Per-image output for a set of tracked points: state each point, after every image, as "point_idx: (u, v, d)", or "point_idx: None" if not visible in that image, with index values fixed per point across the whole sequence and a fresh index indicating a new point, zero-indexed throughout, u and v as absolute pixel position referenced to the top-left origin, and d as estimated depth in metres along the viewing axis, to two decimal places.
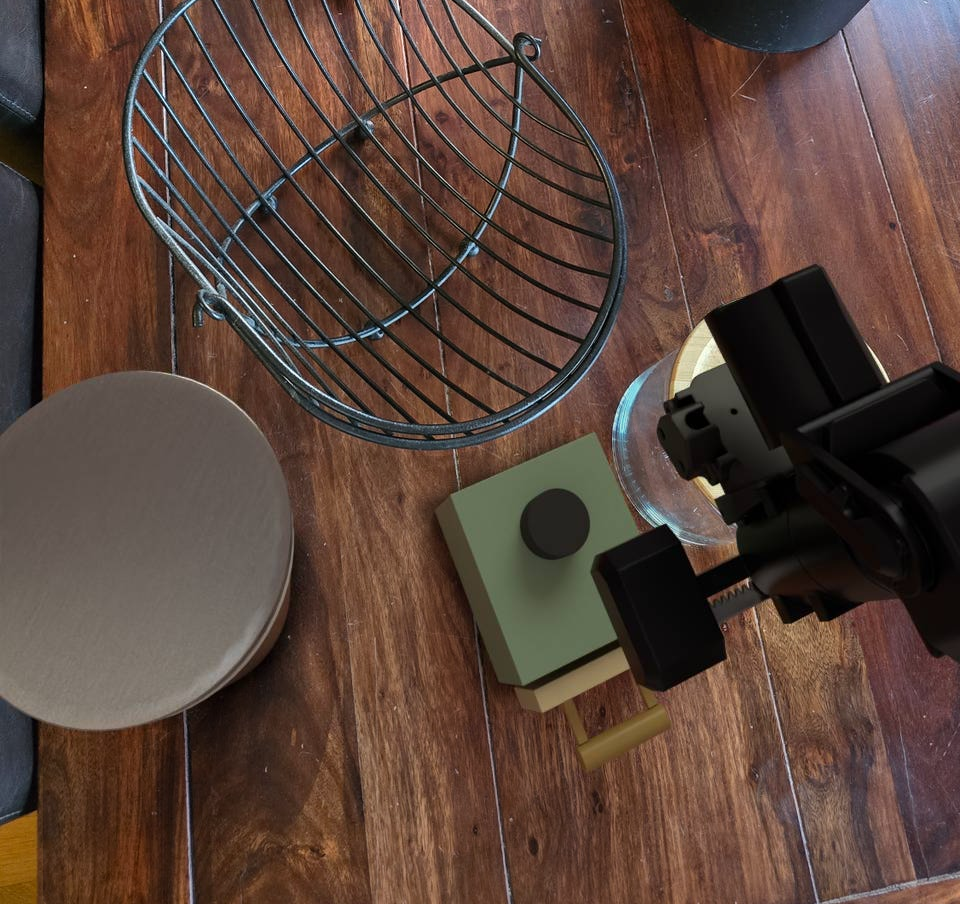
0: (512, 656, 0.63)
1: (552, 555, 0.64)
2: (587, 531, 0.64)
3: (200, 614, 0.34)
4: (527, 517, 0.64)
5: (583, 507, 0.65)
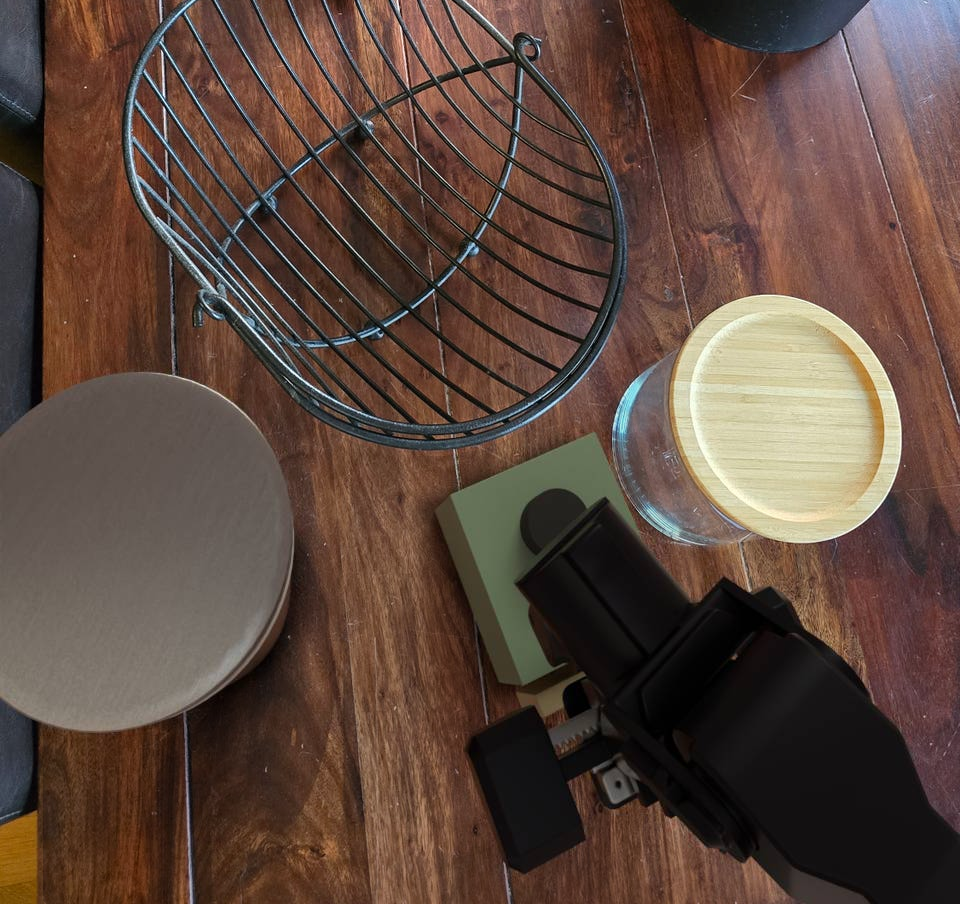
0: (512, 656, 0.63)
1: None
2: None
3: (200, 615, 0.34)
4: (527, 517, 0.64)
5: (583, 507, 0.65)
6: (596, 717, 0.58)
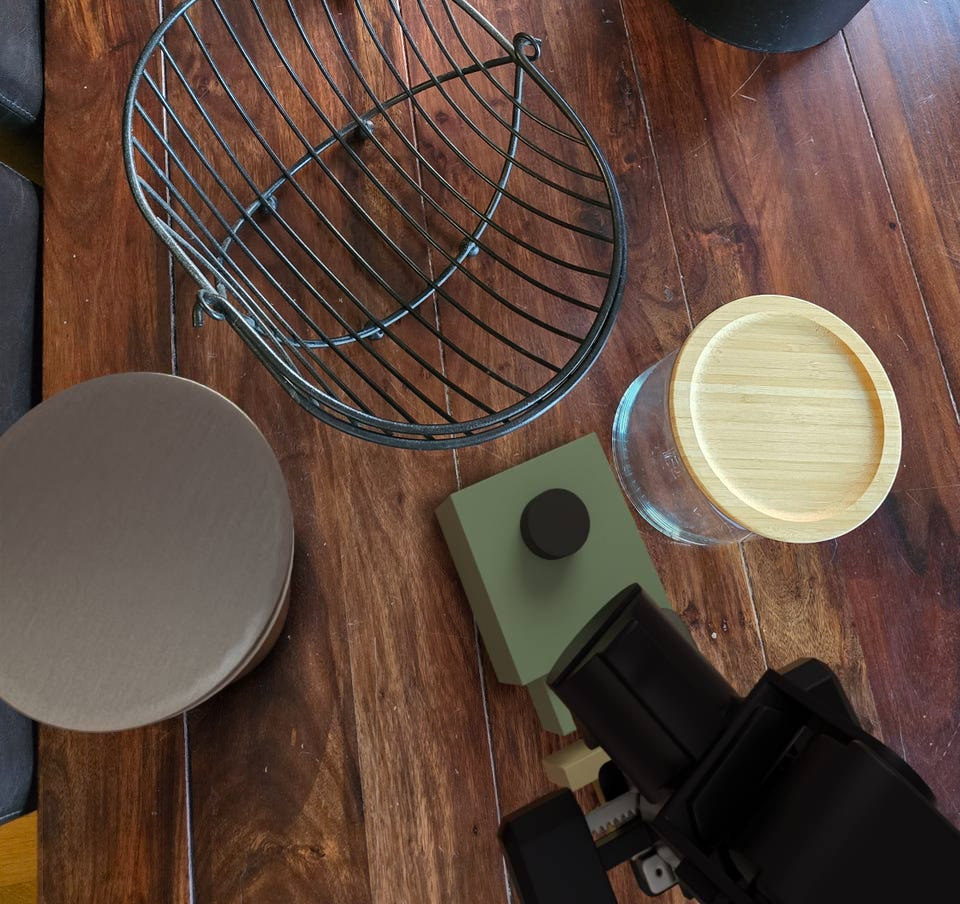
0: (512, 656, 0.63)
1: (552, 555, 0.64)
2: (587, 531, 0.64)
3: (200, 615, 0.34)
4: (527, 517, 0.64)
5: (583, 507, 0.65)
6: (634, 800, 0.55)
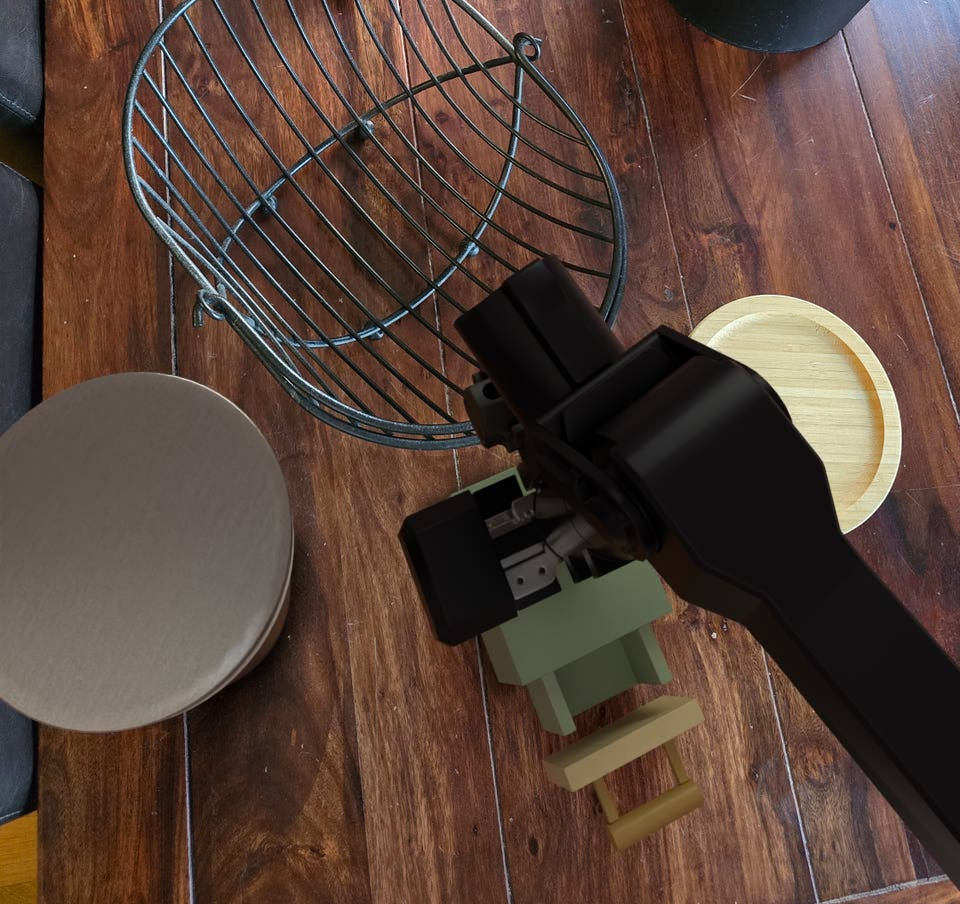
0: (512, 656, 0.63)
1: None
2: None
3: (200, 615, 0.34)
4: None
5: None
6: None
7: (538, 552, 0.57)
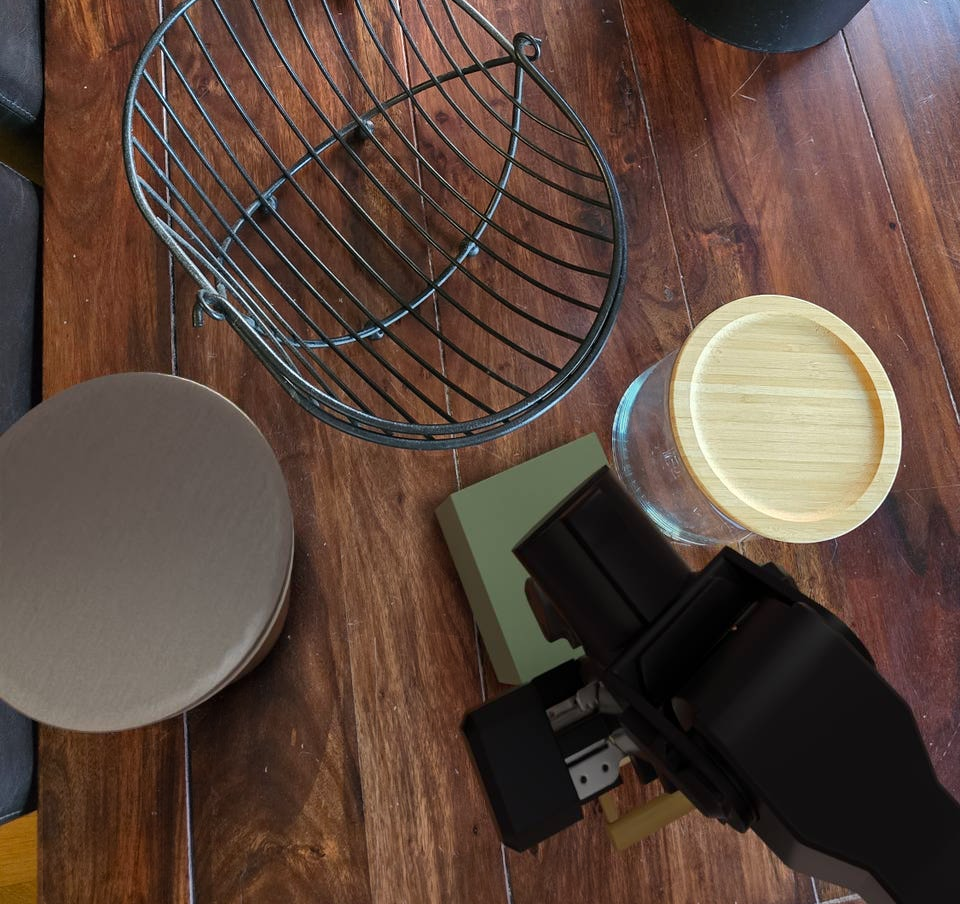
0: (512, 656, 0.63)
1: None
2: None
3: (200, 615, 0.34)
4: None
5: None
6: None
7: (600, 746, 0.56)
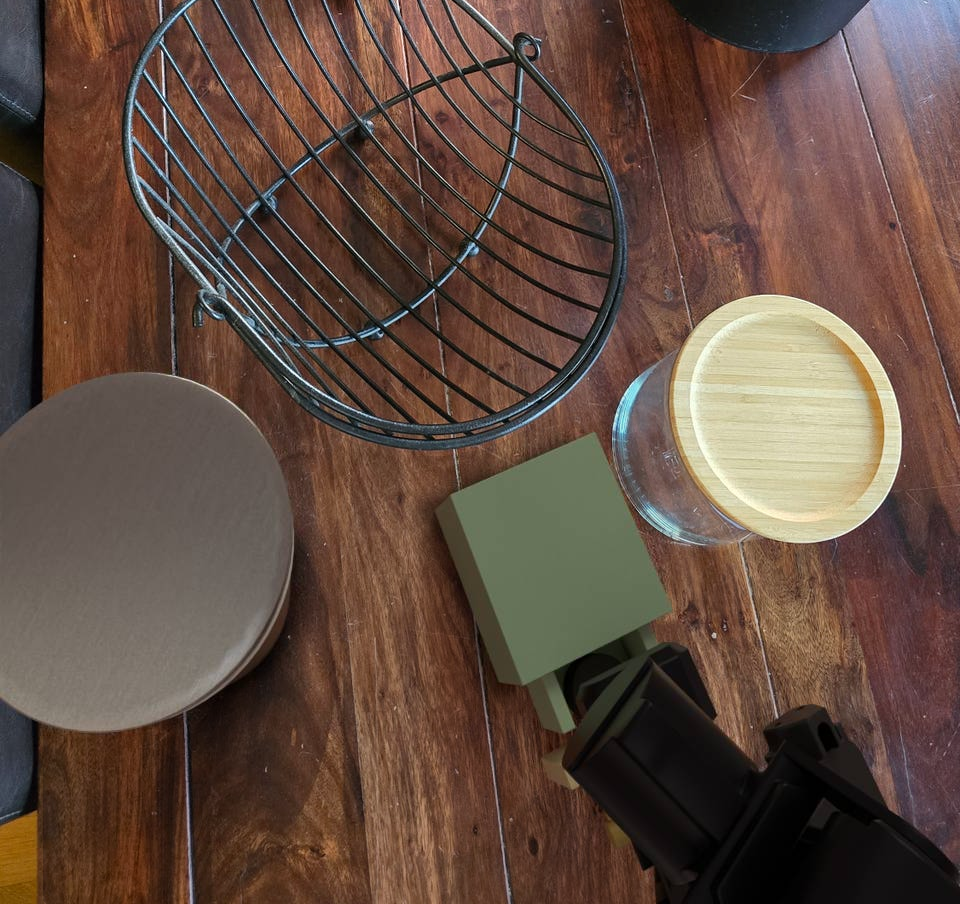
0: (512, 656, 0.63)
1: None
2: None
3: (200, 615, 0.34)
4: (571, 684, 0.66)
5: None
6: None
7: None
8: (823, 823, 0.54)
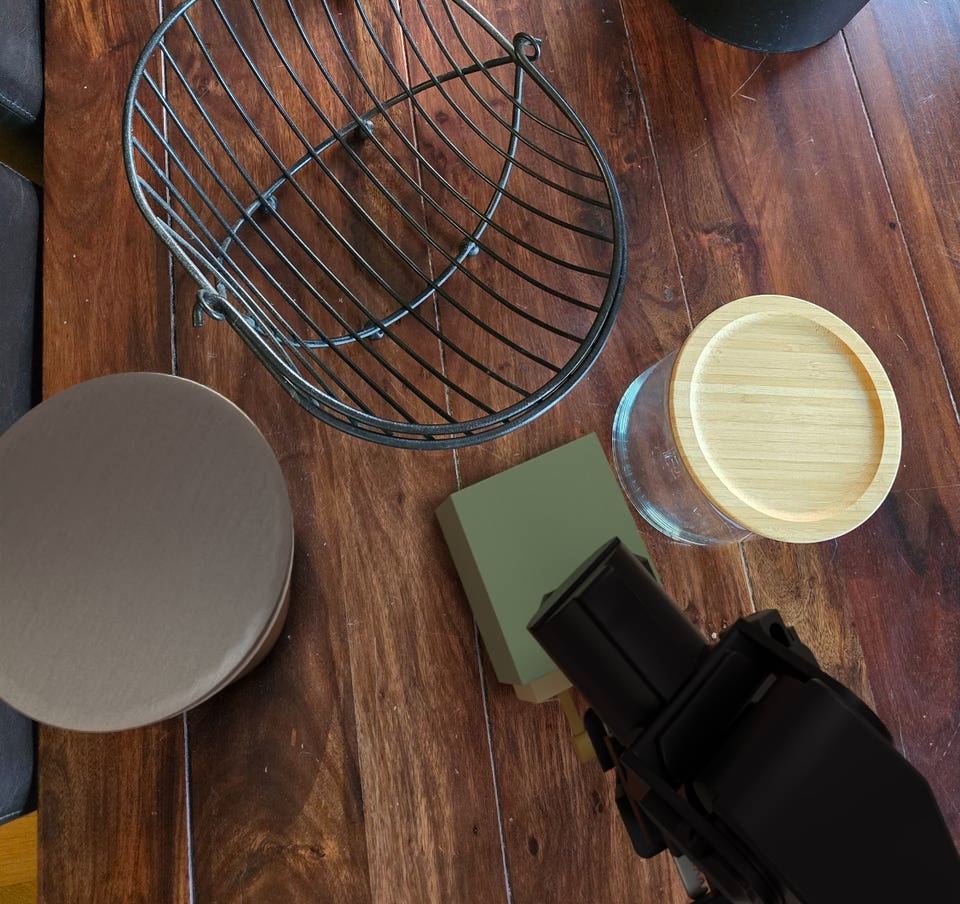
0: (512, 656, 0.63)
1: None
2: None
3: (200, 615, 0.34)
4: None
5: None
6: None
7: None
8: None
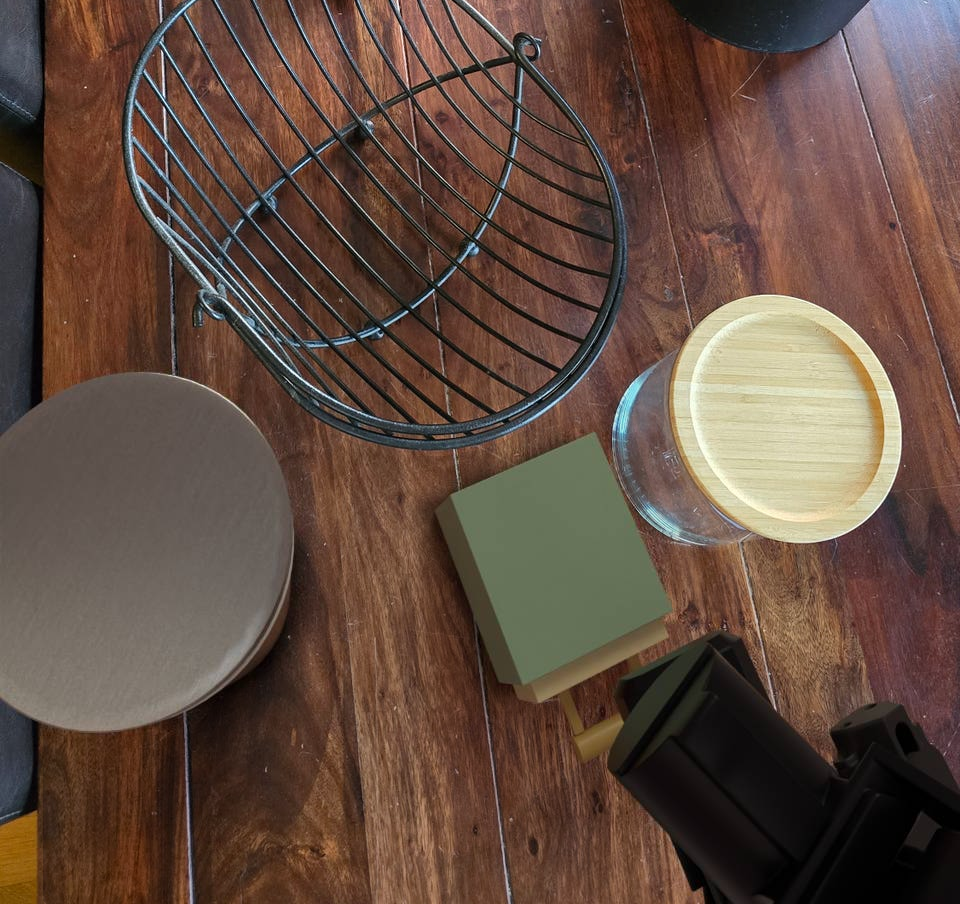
0: (512, 656, 0.63)
1: None
2: None
3: (200, 615, 0.34)
4: None
5: None
6: None
7: None
8: None
